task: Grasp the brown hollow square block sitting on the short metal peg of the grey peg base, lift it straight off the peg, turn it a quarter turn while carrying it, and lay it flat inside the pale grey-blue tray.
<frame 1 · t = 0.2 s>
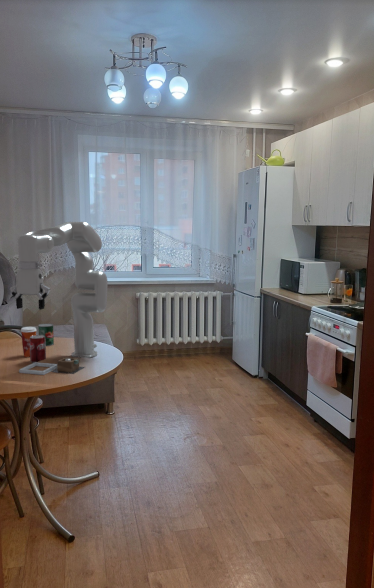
hand: (30, 308, 191), 31 cm above the table, tool pointing down, fingers open, 9 cm apart
paper cup: (29, 355, 236), on the table
brown hollow square block: (68, 369, 208), point 1 cm above the table, touching grey peg base
tray: (39, 372, 208), on the table
grey peg base: (68, 372, 209), on the table
soda can: (38, 361, 226), on the table
canned tomato: (46, 344, 260), on the table
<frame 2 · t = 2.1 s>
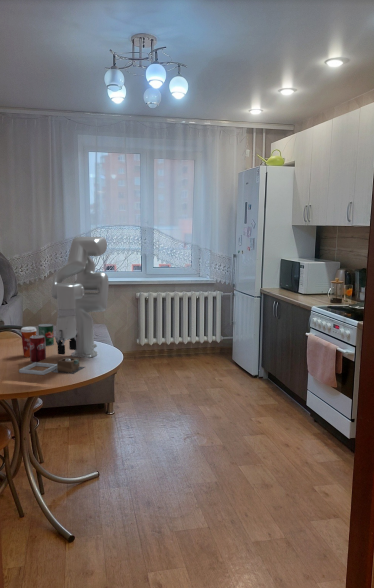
hand: (67, 351, 206), 9 cm above the table, tool pointing down, fingers open, 9 cm apart
nothing on the table moved.
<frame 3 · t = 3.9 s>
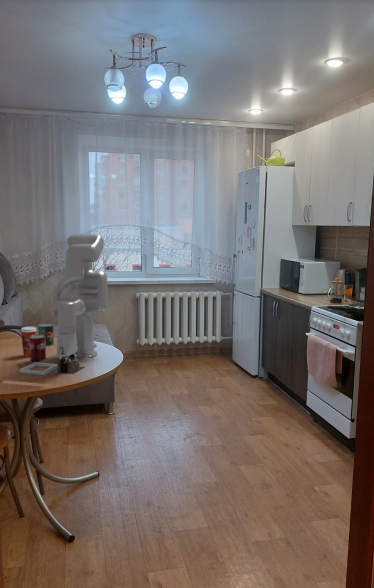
hand: (68, 369, 208), 1 cm above the table, tool pointing down, fingers closed on brown hollow square block, grey peg base, 6 cm apart
brown hollow square block: (68, 369, 208), point 1 cm above the table, touching gripper
everything else where it was.
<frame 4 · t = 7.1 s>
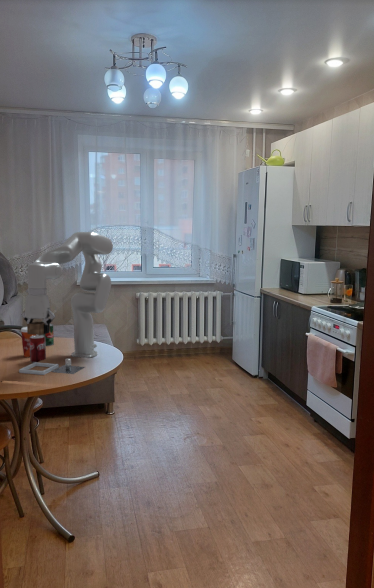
hand: (38, 332, 206), 18 cm above the table, tool pointing down, fingers closed on brown hollow square block, 6 cm apart
brown hollow square block: (38, 332, 206), point 18 cm above the table, touching gripper
everything else where it was.
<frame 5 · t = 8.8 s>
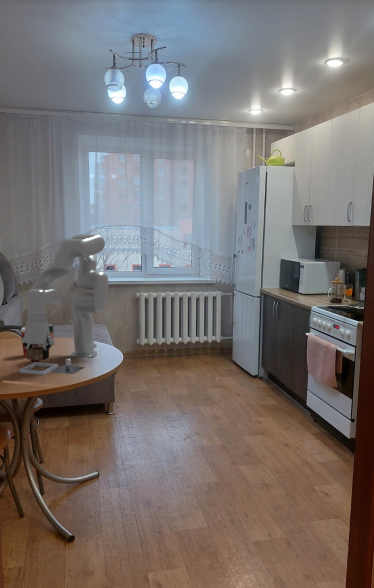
hand: (38, 357, 207), 7 cm above the table, tool pointing down, fingers closed on brown hollow square block, 6 cm apart
brown hollow square block: (38, 358, 207), point 7 cm above the table, touching gripper
everything else where it was.
when the fingers open (3 cm above the table, at t = 10.4 s): brown hollow square block drops 2 cm, resting on tray.
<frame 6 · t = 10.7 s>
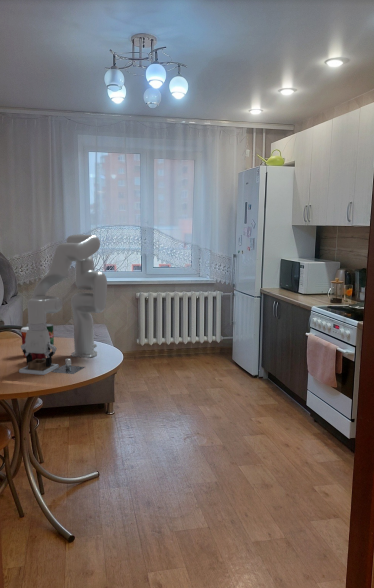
hand: (39, 365, 207), 3 cm above the table, tool pointing down, fingers open, 9 cm apart
brown hollow square block: (39, 371, 208), point 1 cm above the table, touching tray
everything else where it was.
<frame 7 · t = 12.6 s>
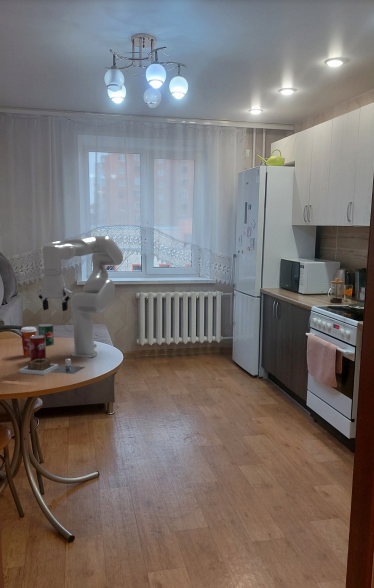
hand: (55, 310, 214), 26 cm above the table, tool pointing down, fingers open, 9 cm apart
nothing on the table moved.
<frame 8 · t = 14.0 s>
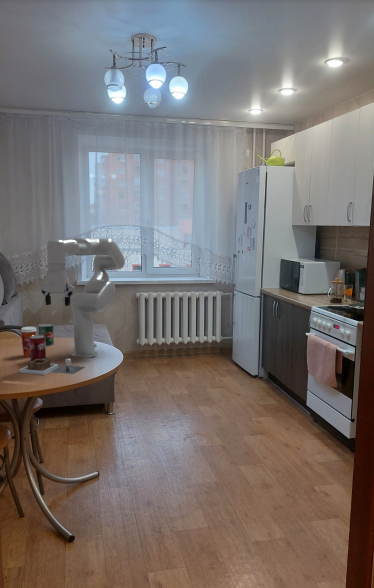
hand: (57, 305, 215), 28 cm above the table, tool pointing down, fingers open, 9 cm apart
nothing on the table moved.
at the end: brown hollow square block inside the target area on the tray (0.0 cm from its centre), point 0.6 cm above the tray's base; brown hollow square block tilted 0°; the gripper is holding nothing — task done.
